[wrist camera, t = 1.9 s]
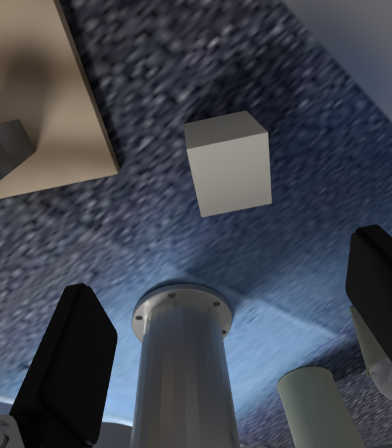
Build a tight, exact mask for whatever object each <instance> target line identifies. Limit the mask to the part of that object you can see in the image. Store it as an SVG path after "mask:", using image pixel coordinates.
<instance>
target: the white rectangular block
mask: <svg viewBox="0 0 392 448" xmlns="http://www.w3.org/2000/svg"><path fill="white" fill-rule="evenodd" d="M184 128H185V138H186V149H187V154H188V158H189V163H190V167H191V172H192V177H193V181H194V186H195V190H196V195H197V200H198V204H199V209H200V213H201V217H206V216H211V215H216V214H222V213H227V212H232V211H237V210H242V209H247V208H252V207H257V206H262V205H267V204H272V197H271V179H270V161H269V143H268V132H267V131H266V130H265V129H264V128H263V127H262V126H261V125H260V124H259V123H258V122H257V121H256V120H255V119H254V118H253V117H252V116H251V115H250V114H249V113H248V112H247V111H246V110H245V111H241V112H236V113H232V114H227V115H222V116H218V117H213V118H208V119H204V120H199V121H195V122H190V123H185V124H184Z"/></svg>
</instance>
